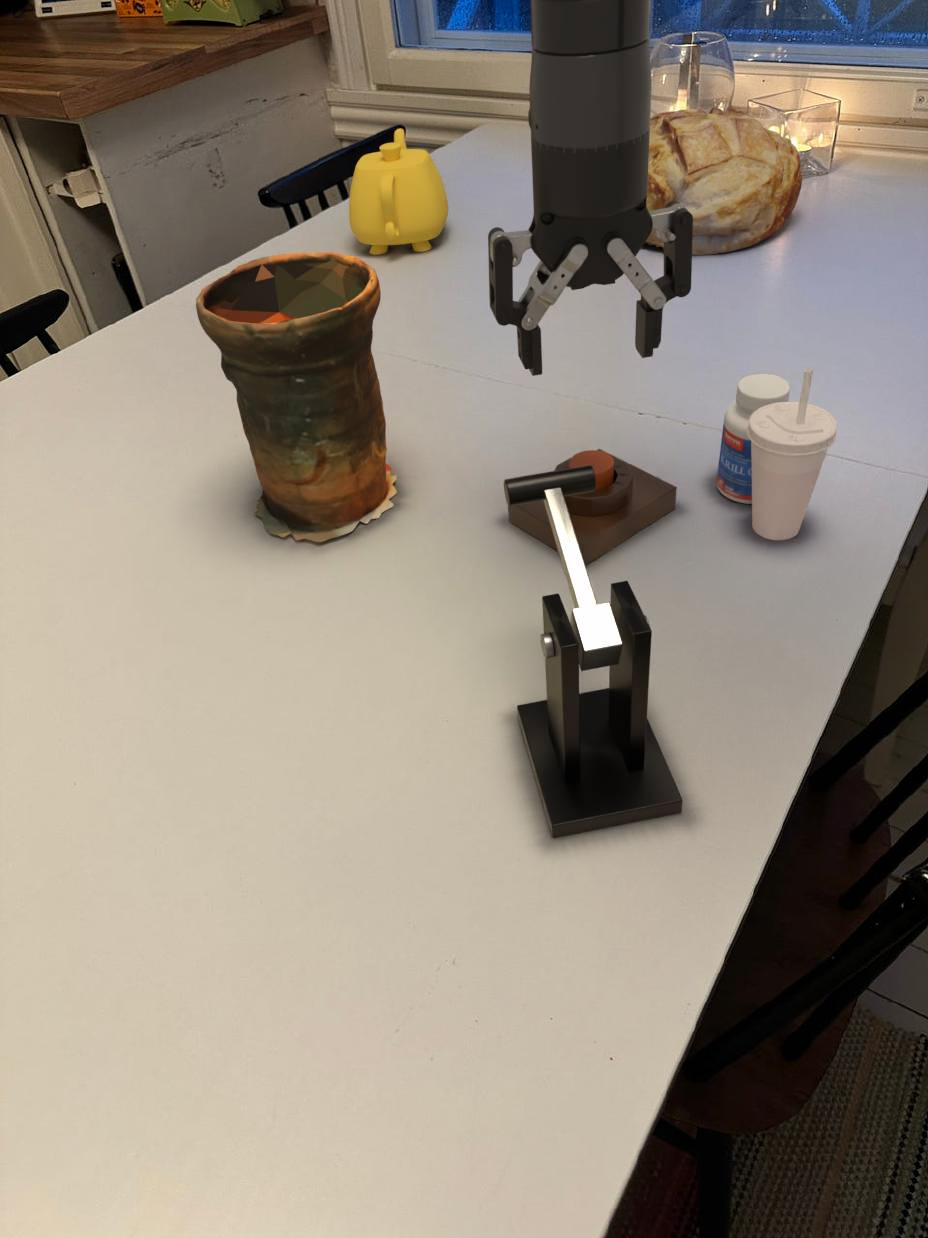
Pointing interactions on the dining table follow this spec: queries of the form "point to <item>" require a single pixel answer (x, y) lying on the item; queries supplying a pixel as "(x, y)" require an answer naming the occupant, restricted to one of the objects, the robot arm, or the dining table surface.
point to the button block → (603, 510)
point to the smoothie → (787, 461)
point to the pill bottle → (744, 433)
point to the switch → (572, 560)
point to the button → (596, 466)
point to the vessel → (305, 387)
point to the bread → (722, 176)
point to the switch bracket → (597, 729)
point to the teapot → (397, 198)
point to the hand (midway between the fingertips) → (589, 361)
